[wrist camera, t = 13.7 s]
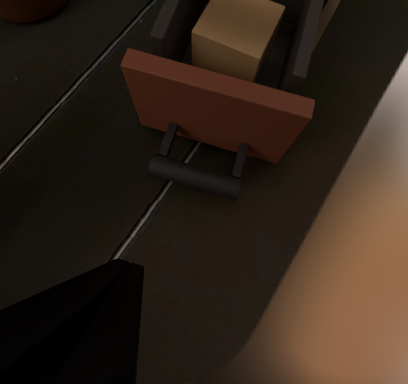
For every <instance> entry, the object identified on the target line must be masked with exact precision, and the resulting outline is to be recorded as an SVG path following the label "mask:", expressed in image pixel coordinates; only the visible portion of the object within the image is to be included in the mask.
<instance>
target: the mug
mask: <svg viewBox="0 0 408 384" xmlns="http://www.w3.org/2000/svg"><path fill="white" fill-rule="evenodd" d="M66 1H67V0H0V18H2V19H4V20H6V21H9V22H13V23H33V22H38V21H41V20H44V19H46V18H48V17H50V16H52V15H54V14H55V13H56V12H58V11H59V10H60V9H61V8H62V7H63V5H64V4H65V3H66Z"/></svg>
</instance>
